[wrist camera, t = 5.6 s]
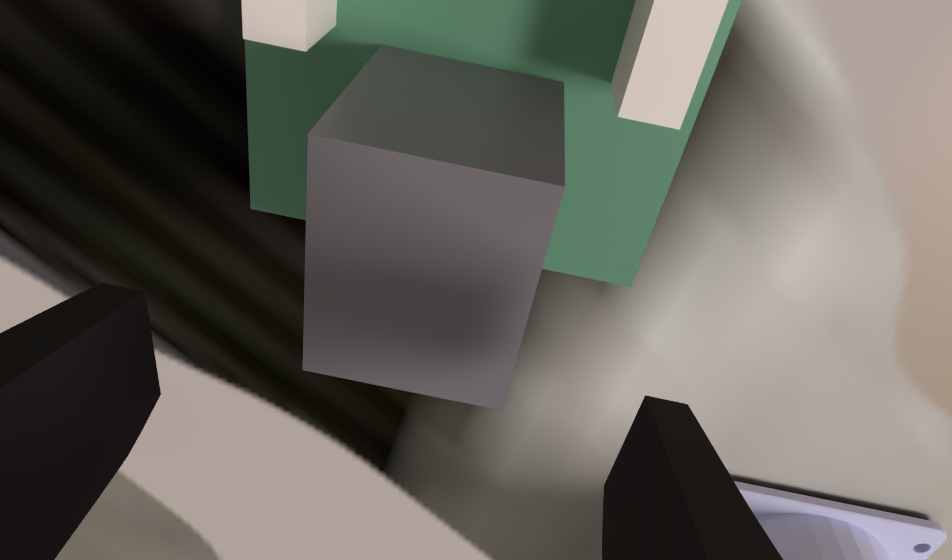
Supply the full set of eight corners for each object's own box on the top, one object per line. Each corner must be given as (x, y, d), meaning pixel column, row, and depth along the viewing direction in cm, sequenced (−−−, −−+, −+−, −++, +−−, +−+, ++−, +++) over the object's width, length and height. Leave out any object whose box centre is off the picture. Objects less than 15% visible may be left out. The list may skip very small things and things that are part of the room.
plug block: (516, 269, 17) (502, 410, 13) (365, 238, 17) (302, 370, 13) (564, 81, 14) (565, 186, 10) (382, 44, 14) (307, 134, 10)
